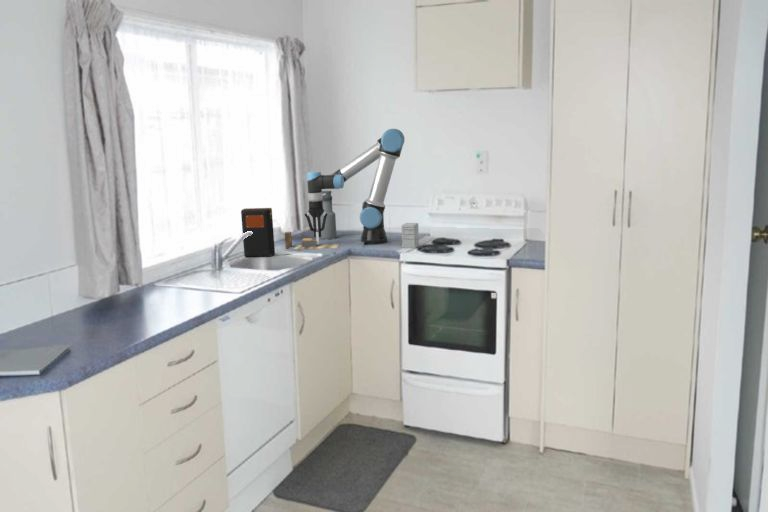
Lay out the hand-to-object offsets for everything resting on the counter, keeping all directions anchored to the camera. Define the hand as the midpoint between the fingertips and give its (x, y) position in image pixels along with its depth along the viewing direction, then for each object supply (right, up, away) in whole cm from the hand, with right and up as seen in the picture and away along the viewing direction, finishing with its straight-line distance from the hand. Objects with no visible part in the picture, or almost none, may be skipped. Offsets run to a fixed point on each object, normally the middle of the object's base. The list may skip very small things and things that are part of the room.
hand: (318, 243), depth 377 cm
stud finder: (-5, -2, +1) cm, 5 cm away
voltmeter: (-29, -7, -16) cm, 34 cm away
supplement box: (+50, -2, -7) cm, 51 cm away
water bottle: (+3, +3, +31) cm, 32 cm away
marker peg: (-16, -3, +1) cm, 17 cm away
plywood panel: (0, -3, -2) cm, 4 cm away
